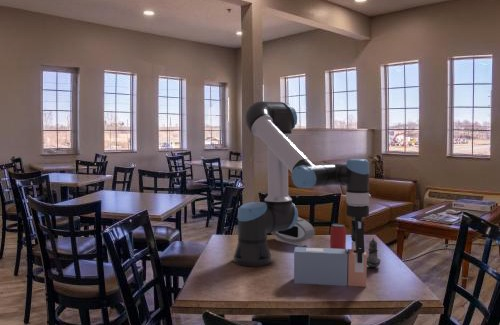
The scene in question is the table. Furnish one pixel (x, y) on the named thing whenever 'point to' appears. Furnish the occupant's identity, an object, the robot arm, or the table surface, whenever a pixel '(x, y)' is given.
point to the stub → (353, 276)
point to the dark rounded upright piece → (373, 256)
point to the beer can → (338, 236)
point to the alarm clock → (296, 233)
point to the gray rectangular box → (320, 266)
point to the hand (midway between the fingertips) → (357, 265)
